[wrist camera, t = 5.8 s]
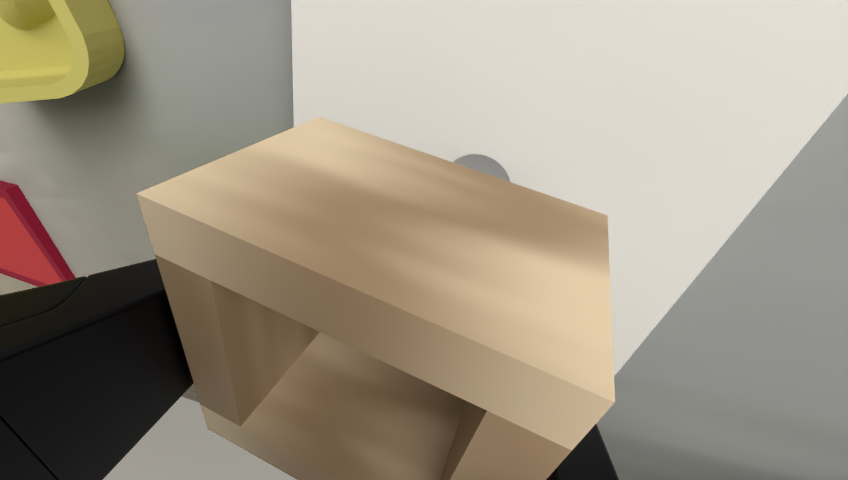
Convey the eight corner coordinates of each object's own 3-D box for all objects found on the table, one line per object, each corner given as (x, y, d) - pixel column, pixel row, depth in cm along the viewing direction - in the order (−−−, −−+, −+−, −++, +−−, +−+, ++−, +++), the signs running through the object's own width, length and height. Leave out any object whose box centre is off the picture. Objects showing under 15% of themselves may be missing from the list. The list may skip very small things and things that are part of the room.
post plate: (875, 6, 9) (1636, 27, 2) (600, 364, 17) (602, 588, 11) (320, -108, 12) (-21, -240, 5) (314, 245, 20) (178, 363, 13)
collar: (607, 215, 7) (614, 401, 4) (504, 397, 10) (462, 573, 7) (319, 116, 8) (136, 193, 5) (315, 310, 11) (207, 428, 8)
